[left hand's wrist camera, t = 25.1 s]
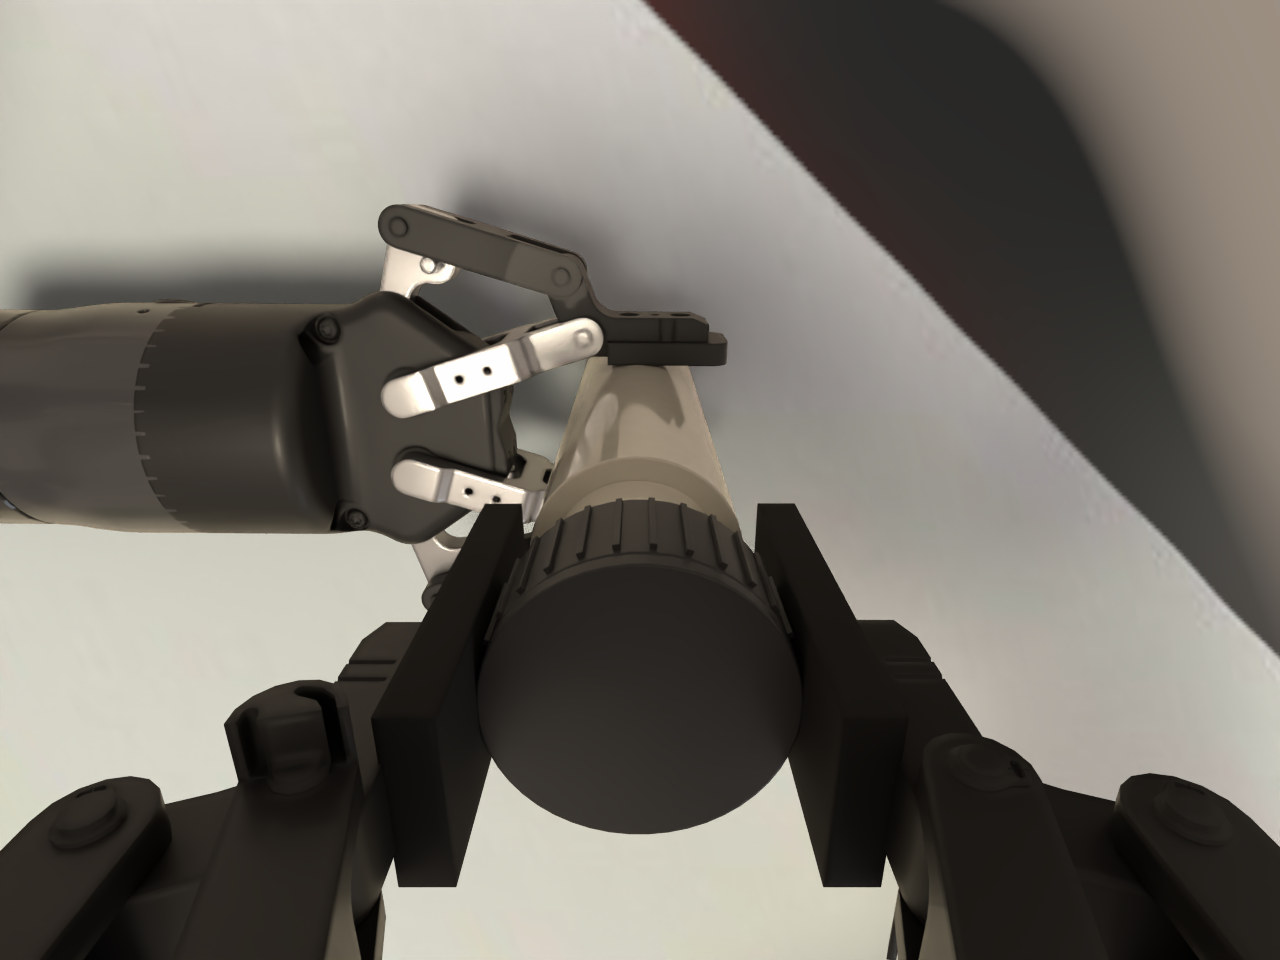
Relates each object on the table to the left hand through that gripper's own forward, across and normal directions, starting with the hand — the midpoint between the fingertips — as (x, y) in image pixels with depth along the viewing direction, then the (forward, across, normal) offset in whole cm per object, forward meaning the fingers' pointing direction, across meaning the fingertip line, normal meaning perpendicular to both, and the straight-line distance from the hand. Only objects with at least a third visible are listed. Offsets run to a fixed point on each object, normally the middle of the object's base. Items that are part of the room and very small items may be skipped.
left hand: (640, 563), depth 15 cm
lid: (-4, 0, 0) cm, 4 cm away
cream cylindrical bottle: (+16, 0, 0) cm, 16 cm away
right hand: (+9, -3, 0) cm, 10 cm away
